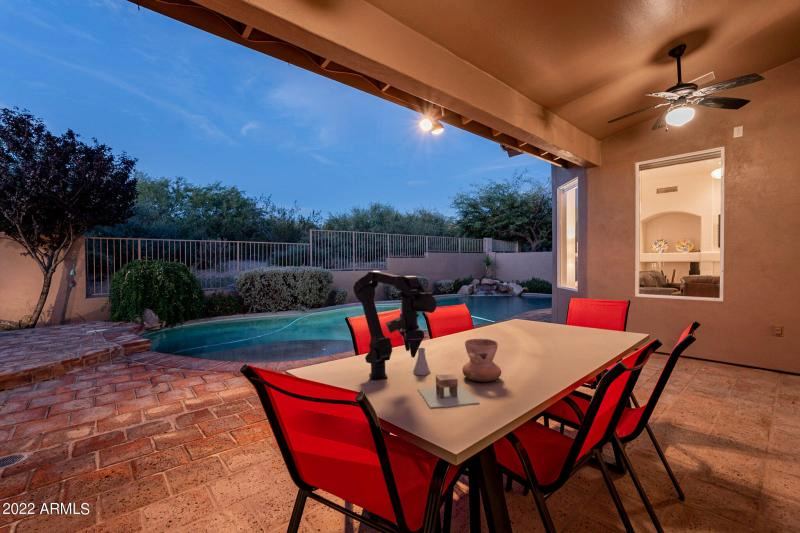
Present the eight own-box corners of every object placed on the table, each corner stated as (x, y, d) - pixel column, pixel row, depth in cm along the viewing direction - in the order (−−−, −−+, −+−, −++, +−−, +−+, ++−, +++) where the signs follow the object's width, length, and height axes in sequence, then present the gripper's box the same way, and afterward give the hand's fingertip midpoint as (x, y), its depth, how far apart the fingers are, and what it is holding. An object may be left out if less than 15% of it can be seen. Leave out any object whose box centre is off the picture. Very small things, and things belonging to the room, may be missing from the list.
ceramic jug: (488, 389, 118) (488, 348, 118) (453, 380, 128) (453, 343, 128) (510, 376, 131) (509, 340, 131) (476, 369, 141) (476, 335, 141)
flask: (429, 376, 133) (429, 351, 133) (411, 375, 135) (411, 350, 135) (431, 370, 140) (431, 346, 140) (414, 369, 142) (414, 346, 142)
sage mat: (417, 389, 119) (417, 388, 119) (461, 386, 122) (460, 384, 122) (430, 408, 103) (430, 407, 103) (479, 403, 106) (479, 402, 106)
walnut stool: (452, 391, 115) (452, 374, 115) (457, 397, 110) (457, 378, 110) (435, 393, 114) (435, 375, 114) (440, 398, 109) (440, 380, 109)
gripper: (383, 308, 129) (384, 349, 129) (391, 315, 111) (392, 362, 111) (412, 307, 131) (412, 347, 131) (424, 313, 113) (425, 360, 113)
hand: (410, 353), depth 121 cm, fingers open, 9 cm apart
